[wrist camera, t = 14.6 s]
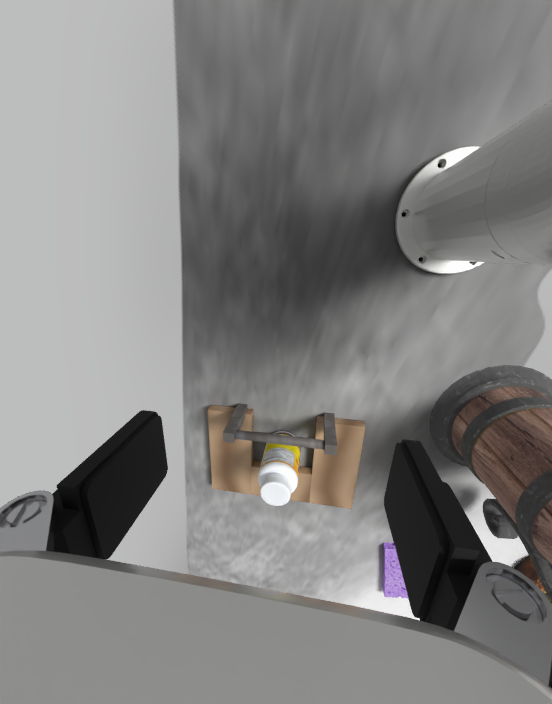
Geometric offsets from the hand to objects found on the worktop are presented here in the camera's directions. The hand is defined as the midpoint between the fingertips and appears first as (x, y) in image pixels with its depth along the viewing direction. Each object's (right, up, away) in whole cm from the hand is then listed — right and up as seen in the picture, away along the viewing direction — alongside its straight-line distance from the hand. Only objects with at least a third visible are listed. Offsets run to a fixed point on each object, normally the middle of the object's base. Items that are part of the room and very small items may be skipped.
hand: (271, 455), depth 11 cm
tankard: (+31, -9, +29) cm, 43 cm away
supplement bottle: (+1, -11, +34) cm, 36 cm away
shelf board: (+1, -13, +35) cm, 37 cm away
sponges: (+24, -35, +40) cm, 58 cm away
